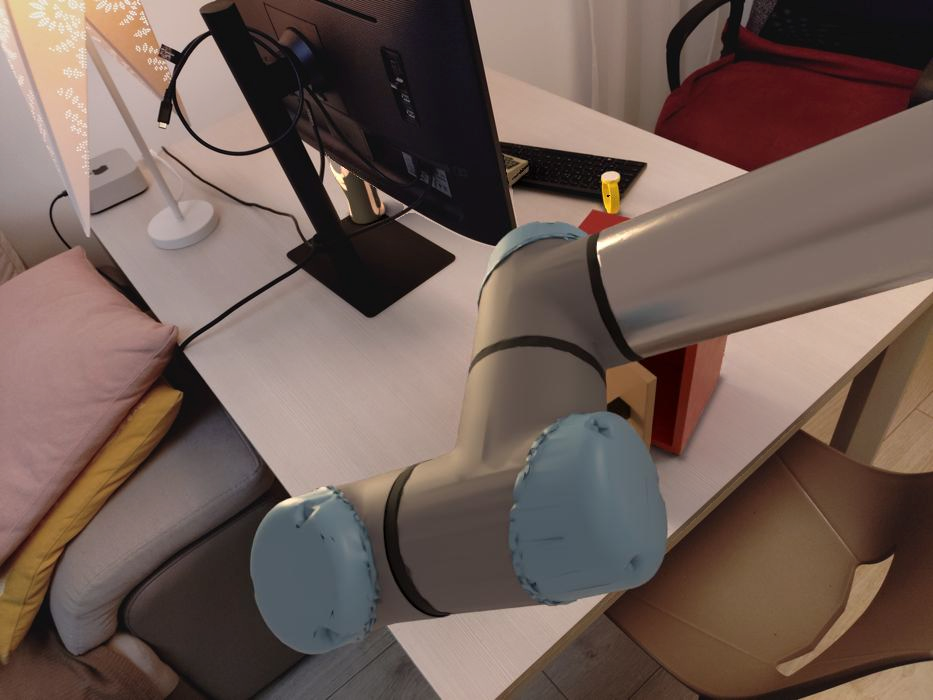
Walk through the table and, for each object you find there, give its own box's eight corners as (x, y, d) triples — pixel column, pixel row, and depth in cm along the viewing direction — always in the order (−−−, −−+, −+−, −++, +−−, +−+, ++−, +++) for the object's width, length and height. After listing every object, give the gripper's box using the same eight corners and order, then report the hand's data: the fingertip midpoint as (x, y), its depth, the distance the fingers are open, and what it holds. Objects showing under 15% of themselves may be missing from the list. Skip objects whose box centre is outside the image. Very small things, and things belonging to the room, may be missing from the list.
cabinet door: (591, 538, 63) (587, 424, 49) (500, 436, 73) (475, 316, 59) (645, 498, 65) (657, 377, 51) (549, 404, 75) (537, 281, 61)
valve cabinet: (679, 455, 68) (700, 327, 54) (549, 402, 76) (536, 277, 61) (718, 379, 74) (746, 245, 60) (594, 337, 82) (592, 208, 67)
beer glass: (354, 230, 107) (326, 151, 96) (344, 210, 111) (316, 132, 100) (392, 216, 108) (368, 136, 97) (380, 197, 112) (356, 118, 101)
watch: (623, 218, 97) (624, 185, 93) (605, 221, 97) (606, 188, 93) (614, 197, 101) (615, 164, 97) (597, 200, 102) (597, 167, 97)
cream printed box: (530, 170, 110) (528, 153, 108) (502, 194, 107) (499, 177, 104) (463, 150, 119) (460, 134, 116) (435, 172, 115) (431, 156, 113)
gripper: (367, 508, 47) (517, 467, 67) (552, 634, 39) (662, 544, 58) (395, 416, 46) (539, 402, 65) (593, 524, 37) (691, 471, 57)
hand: (597, 469), depth 62 cm, fingers open, 3 cm apart
